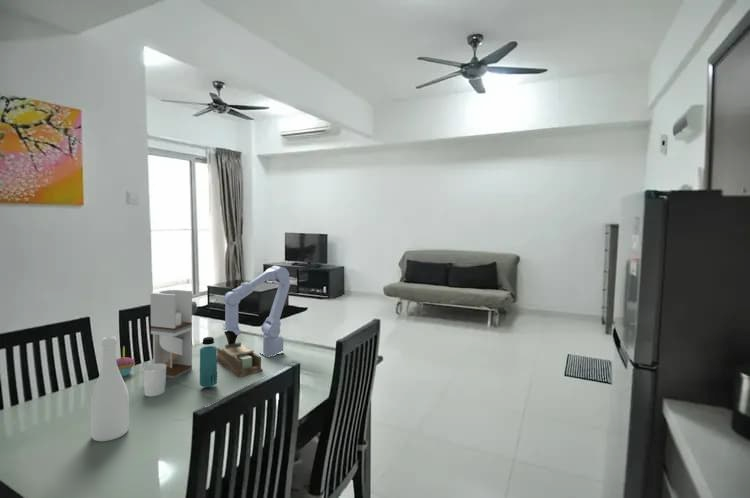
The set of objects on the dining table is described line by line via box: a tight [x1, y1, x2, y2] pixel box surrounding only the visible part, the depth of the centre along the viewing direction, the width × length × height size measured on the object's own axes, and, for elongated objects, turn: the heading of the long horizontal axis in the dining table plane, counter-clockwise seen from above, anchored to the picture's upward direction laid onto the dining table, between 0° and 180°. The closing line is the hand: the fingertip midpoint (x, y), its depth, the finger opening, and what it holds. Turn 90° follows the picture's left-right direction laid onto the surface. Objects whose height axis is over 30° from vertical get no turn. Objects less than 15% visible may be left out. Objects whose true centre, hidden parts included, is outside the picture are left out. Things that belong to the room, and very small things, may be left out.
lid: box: [221, 341, 255, 357], centre depth 178 cm, size 10×11×2 cm
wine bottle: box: [90, 335, 130, 442], centre depth 118 cm, size 10×10×30 cm
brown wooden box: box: [216, 347, 264, 378], centre depth 178 cm, size 11×24×6 cm, turn 44°
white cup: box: [142, 363, 167, 397], centre depth 148 cm, size 8×8×10 cm
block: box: [238, 355, 252, 370], centre depth 173 cm, size 4×4×5 cm
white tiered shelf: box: [150, 288, 193, 380], centre depth 167 cm, size 11×11×35 cm
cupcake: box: [116, 346, 136, 377], centre depth 164 cm, size 9×8×12 cm
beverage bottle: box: [199, 336, 218, 388], centre depth 153 cm, size 6×7×20 cm
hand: (231, 346), depth 183 cm, fingers closed
